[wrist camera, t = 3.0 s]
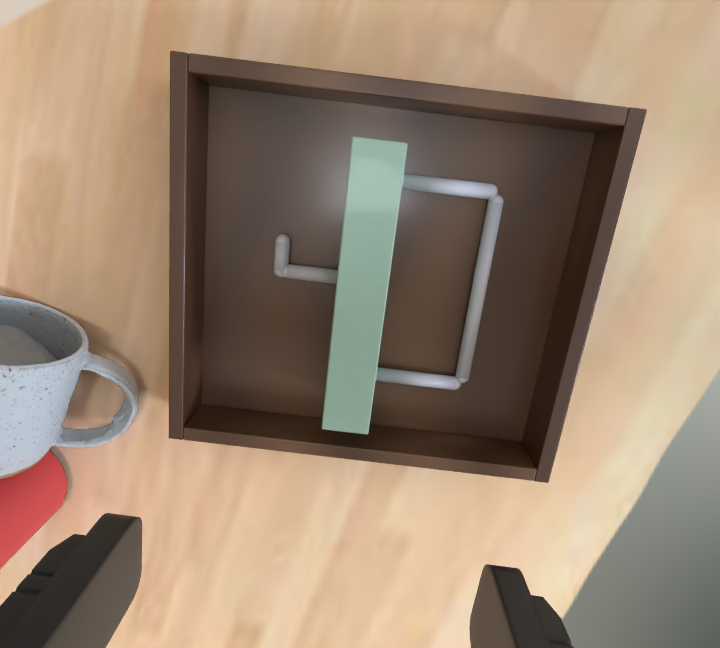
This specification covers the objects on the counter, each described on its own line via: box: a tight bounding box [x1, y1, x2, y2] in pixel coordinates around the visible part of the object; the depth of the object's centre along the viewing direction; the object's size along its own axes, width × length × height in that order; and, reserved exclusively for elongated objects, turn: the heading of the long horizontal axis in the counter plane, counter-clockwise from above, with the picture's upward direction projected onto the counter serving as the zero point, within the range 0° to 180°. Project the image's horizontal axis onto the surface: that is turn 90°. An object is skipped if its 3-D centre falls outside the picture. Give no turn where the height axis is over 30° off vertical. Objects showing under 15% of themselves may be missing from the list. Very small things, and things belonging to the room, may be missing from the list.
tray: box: [169, 51, 647, 483], centre depth 26 cm, size 22×20×4 cm
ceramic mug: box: [0, 296, 139, 479], centre depth 26 cm, size 11×8×8 cm
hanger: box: [274, 136, 503, 434], centre depth 25 cm, size 12×14×5 cm
